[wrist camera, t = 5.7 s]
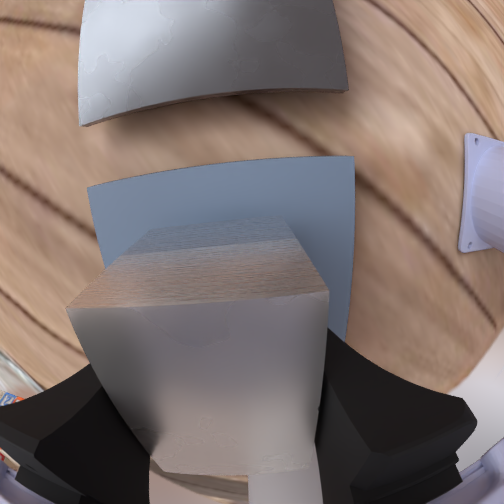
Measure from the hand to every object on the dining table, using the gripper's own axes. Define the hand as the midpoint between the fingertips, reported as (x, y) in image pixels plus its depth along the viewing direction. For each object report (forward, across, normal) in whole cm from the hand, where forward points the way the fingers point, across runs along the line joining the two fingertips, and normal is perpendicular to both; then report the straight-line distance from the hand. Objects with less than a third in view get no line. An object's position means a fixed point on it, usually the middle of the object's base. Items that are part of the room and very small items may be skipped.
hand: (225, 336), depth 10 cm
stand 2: (+5, 0, 0) cm, 5 cm away
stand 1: (+5, 0, -15) cm, 16 cm away
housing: (+2, 0, 0) cm, 2 cm away
